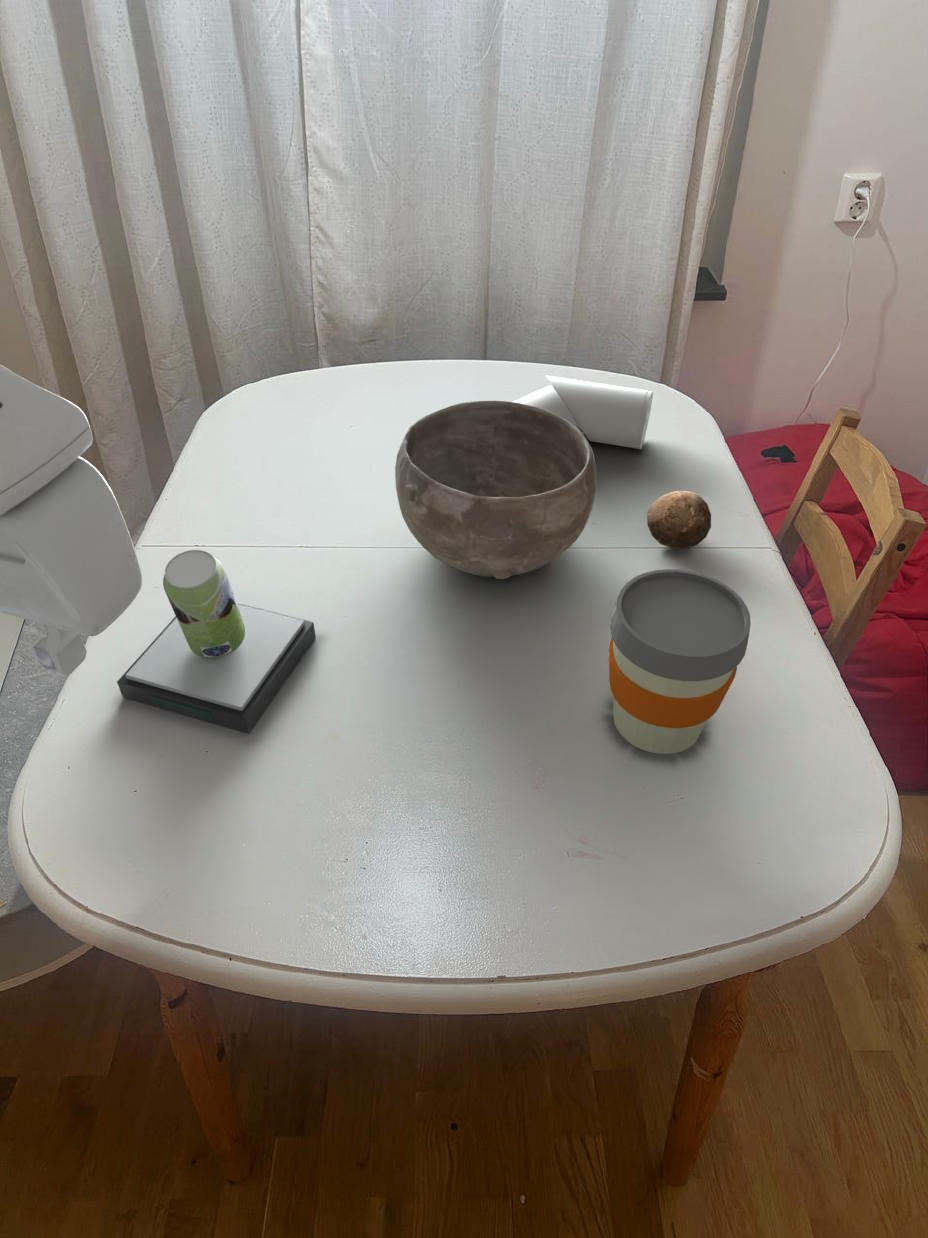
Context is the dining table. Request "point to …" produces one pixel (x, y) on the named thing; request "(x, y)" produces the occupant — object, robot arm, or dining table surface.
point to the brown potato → (679, 519)
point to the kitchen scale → (220, 671)
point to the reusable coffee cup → (673, 656)
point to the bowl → (495, 486)
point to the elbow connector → (597, 409)
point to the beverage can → (204, 603)
